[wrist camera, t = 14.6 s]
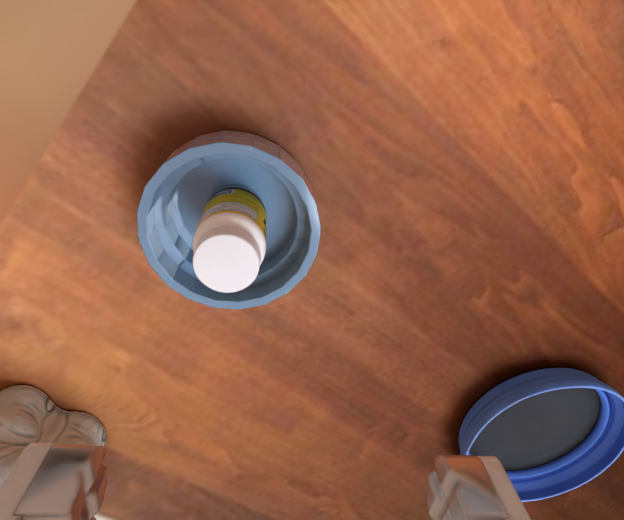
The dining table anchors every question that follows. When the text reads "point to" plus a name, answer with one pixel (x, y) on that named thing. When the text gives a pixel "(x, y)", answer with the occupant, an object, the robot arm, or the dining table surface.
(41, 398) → the grey elephant figurine
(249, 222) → the supplement bottle
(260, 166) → the blue bowl
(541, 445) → the bowl
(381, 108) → the dining table surface
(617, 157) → the dining table surface
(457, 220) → the dining table surface
